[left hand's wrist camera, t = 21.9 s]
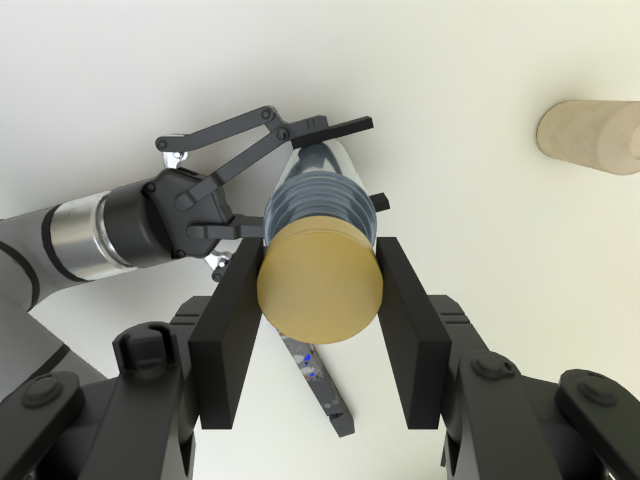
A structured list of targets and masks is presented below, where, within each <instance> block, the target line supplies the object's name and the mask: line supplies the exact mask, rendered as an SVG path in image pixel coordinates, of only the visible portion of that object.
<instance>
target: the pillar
mask: <svg viewBox="0 0 640 480" xmlns="http://www.w3.org/2000/svg"><path fill="white" fill-rule="evenodd" d="M277 331H278V330H277ZM278 333H279V334H280V336H281V338H282V340H283V341H284V343H285V345H286V346H287V348H288V350H289V352H290V353H291V355H292V357H293V358H294V360H295V362H296V364H297V365H298V367H299V369H300V370H301V372H302V374H303V376H304V377H305V379H306V381H307V382H308V384H309V386H310V388H311V389H312V391H313V393H314V394H315V396H316V398H317V400H318V401H319V403H320V405H321V406H322V408H323V410H324V411H325V413H326V415H327V416H329V417H330V422H331V423H332V425H333V427H334V429H335V430H336V432H337V434H338V435H339V437H343V436H347V435H350V434H353V433H355V430H354V420H353V418H352V416H351V414H350V412H349V410H348V408H347V407H346V405H345V403H344V401H343V399H342V398H341V397H340V394H339V392H338V390H337V388H336V387H335V385H334V383H333V381H332V379H331V378H330V376H329V374H328V372H327V370H326V369H325V367H324V365H323V363H322V361H321V359H320V358H319V356H318V354H317V352H316V350H315V349H314V347H313V345H312V344H311V343H305V342H301V341H297V340H295V339H292V338H290V337H288V336H286V335H284V334H283V333H281V332H280V331H278Z"/></svg>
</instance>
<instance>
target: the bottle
mask: <svg viewBox="0 0 640 480" xmlns="http://www.w3.org/2000/svg"><path fill="white" fill-rule="evenodd" d="M310 216H329V217H335V218H338V219H341V220H344V221H346V222H348V223H350V224H351V225H353V226H355V227H356V228H357V229H359V230H360V231H361V232H362V233H363V234H364V235H365V236H366V238H367V239H368V241H369V242H370V244H371V246H372V248H373V246H374V243H375V239H376V231H377V218H376V213H375V209H374V206H373V204H372V202H371V199H370V197H369V195H368V193H367V191H366V189H365V187H364V185H363V183H362V181H361V179H360V177H359V175H358V173H357V171H356V169H355V167H354V165H353V163H352V161H351V159H350V157H349V155H348V153H347V151H346V149H345V147H344V146H343V145H342V144H341V142H339V141H338V140H337V139H335V138H334V139H331V140H327V141H323V142H320V143H316V144H313V145H309V146H305V147H302V148H298V149H295V150H294V151H293V153H292V155H291V157H290V159H289V161H288V163H287V165H286V167H285V169H284V171H283V173H282V175H281V177H280V179H279V181H278V183H277V185H276V187H275V189H274V191H273V193H272V195H271V198H270V200H269V202H268V204H267V206H266V209H265V213H264V219H263V231H264V238H265V243H266V246H267V248H268V246H269V244H270V242H271V241H272V239H273V238H274V237H275V235H276V234H277V233H278V232H279V231H280V230H281V229H283V228H284V227H285V226H287V225H288V224H290V223H292V222H294V221H296V220H299V219H302V218H306V217H310Z"/></svg>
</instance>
